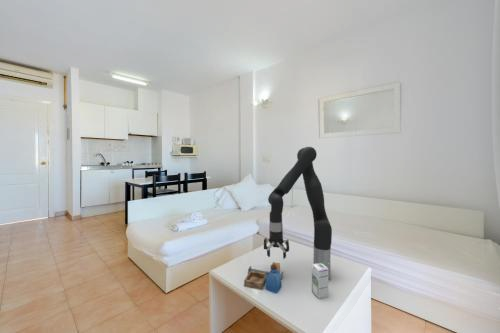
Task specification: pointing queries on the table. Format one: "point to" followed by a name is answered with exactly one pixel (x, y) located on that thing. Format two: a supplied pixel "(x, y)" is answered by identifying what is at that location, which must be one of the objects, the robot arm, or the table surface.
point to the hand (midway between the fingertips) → (276, 257)
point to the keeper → (255, 280)
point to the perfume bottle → (273, 280)
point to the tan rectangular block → (277, 267)
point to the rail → (260, 271)
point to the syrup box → (320, 280)
